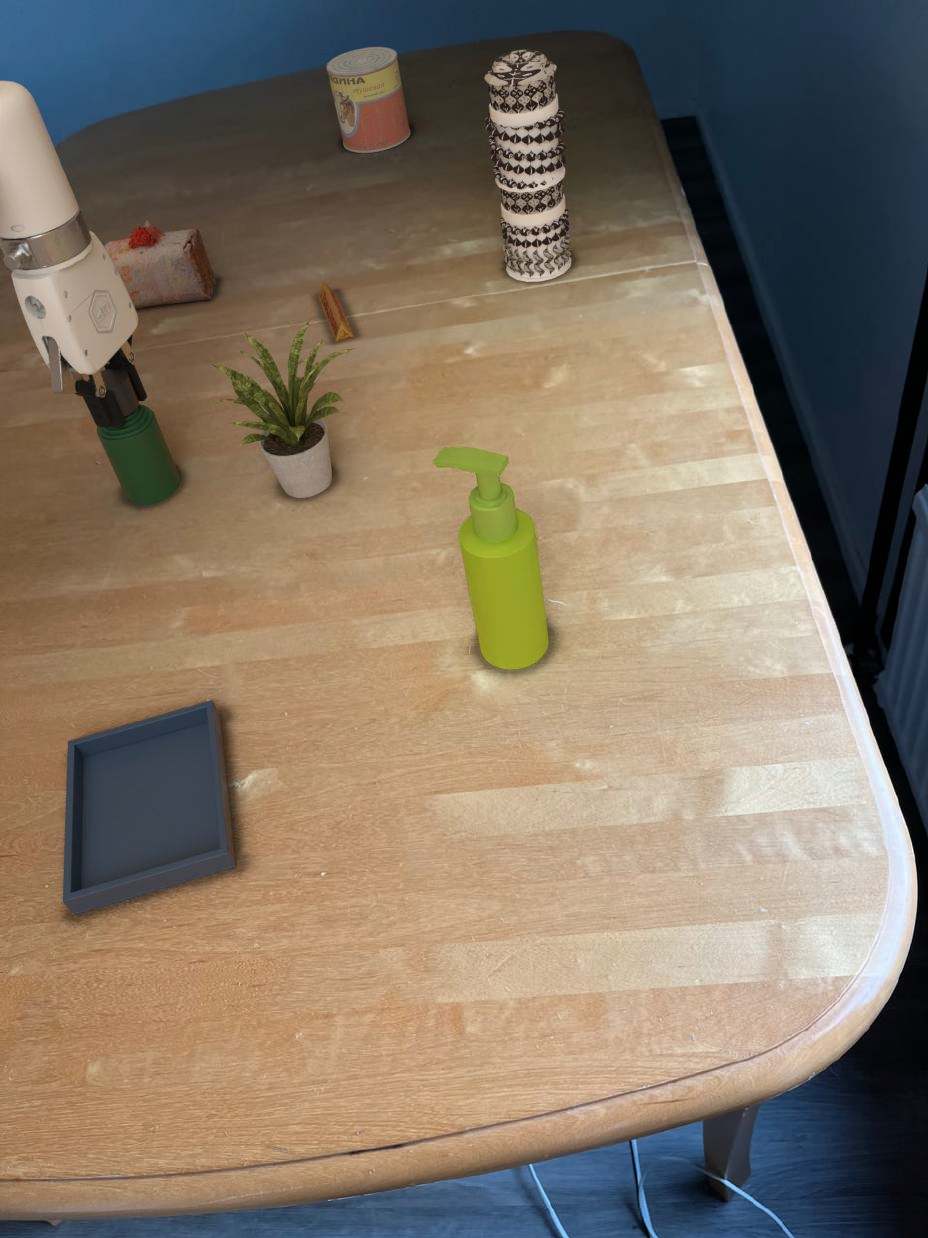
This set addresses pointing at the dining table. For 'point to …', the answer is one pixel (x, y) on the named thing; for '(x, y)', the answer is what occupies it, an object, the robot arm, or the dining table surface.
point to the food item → (163, 266)
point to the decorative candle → (529, 165)
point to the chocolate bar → (334, 313)
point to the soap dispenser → (500, 563)
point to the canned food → (369, 99)
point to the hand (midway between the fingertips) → (122, 410)
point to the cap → (121, 390)
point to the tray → (146, 808)
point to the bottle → (141, 458)
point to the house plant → (289, 418)
